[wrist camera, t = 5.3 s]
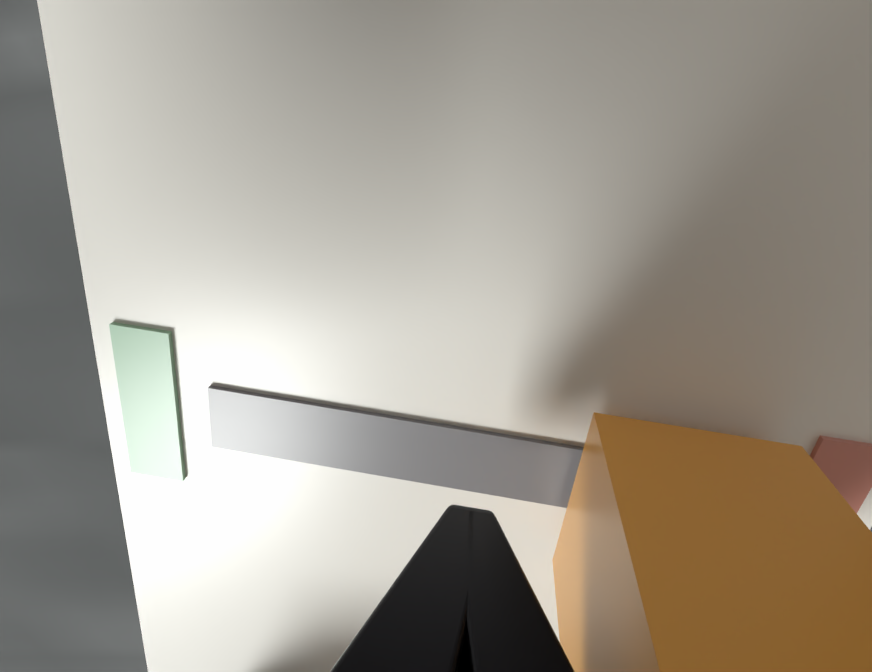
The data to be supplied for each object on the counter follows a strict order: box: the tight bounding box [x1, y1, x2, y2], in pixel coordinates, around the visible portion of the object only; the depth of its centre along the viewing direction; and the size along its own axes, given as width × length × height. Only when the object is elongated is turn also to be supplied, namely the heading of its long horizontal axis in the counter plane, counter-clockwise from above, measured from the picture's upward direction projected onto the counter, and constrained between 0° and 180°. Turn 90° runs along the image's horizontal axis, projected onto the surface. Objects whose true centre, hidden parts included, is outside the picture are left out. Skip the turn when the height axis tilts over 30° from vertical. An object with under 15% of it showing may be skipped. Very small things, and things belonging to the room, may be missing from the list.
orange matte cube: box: [552, 412, 872, 672], centre depth 7 cm, size 3×3×4 cm
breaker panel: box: [37, 0, 872, 672], centre depth 10 cm, size 13×25×2 cm, turn 173°
